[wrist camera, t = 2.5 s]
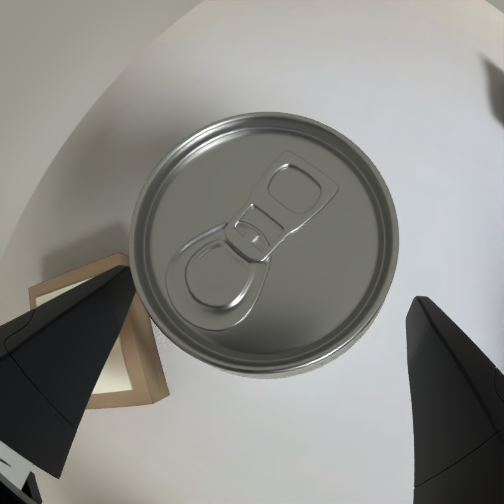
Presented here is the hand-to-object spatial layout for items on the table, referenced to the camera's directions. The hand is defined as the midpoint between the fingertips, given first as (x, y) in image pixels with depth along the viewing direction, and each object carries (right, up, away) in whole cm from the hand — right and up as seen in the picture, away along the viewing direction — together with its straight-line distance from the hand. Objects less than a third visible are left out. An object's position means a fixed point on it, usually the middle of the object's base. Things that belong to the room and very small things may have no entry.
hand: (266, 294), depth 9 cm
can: (+1, -1, +9) cm, 9 cm away
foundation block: (-11, -5, +9) cm, 15 cm away
